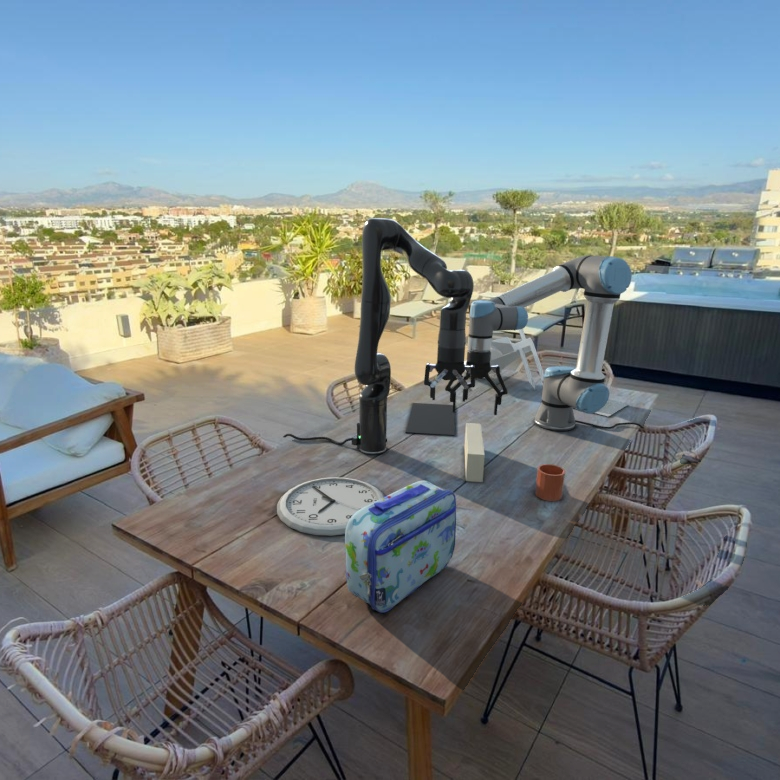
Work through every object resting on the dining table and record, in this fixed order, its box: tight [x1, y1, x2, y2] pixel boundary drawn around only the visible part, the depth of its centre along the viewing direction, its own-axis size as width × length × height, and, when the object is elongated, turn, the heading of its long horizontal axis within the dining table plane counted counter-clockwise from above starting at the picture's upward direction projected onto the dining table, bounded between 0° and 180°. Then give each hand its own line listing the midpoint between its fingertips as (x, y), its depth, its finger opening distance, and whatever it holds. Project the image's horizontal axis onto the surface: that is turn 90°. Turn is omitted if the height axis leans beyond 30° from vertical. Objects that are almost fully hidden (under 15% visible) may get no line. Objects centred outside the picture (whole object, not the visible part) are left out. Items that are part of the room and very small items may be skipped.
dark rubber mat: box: [405, 402, 456, 437], centre depth 209 cm, size 18×34×1 cm, turn 173°
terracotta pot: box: [534, 463, 566, 502], centre depth 149 cm, size 7×7×8 cm
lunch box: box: [344, 480, 457, 614], centre depth 109 cm, size 26×11×21 cm, turn 135°
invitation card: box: [594, 399, 628, 418], centre depth 226 cm, size 21×1×15 cm
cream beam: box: [464, 422, 486, 483], centre depth 169 cm, size 5×26×9 cm, turn 173°
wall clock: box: [276, 476, 386, 537], centre depth 143 cm, size 30×2×30 cm
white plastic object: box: [463, 328, 545, 390], centre depth 260 cm, size 37×45×31 cm
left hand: (448, 400), depth 149 cm, fingers open, 8 cm apart
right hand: (474, 412), depth 173 cm, fingers open, 13 cm apart
